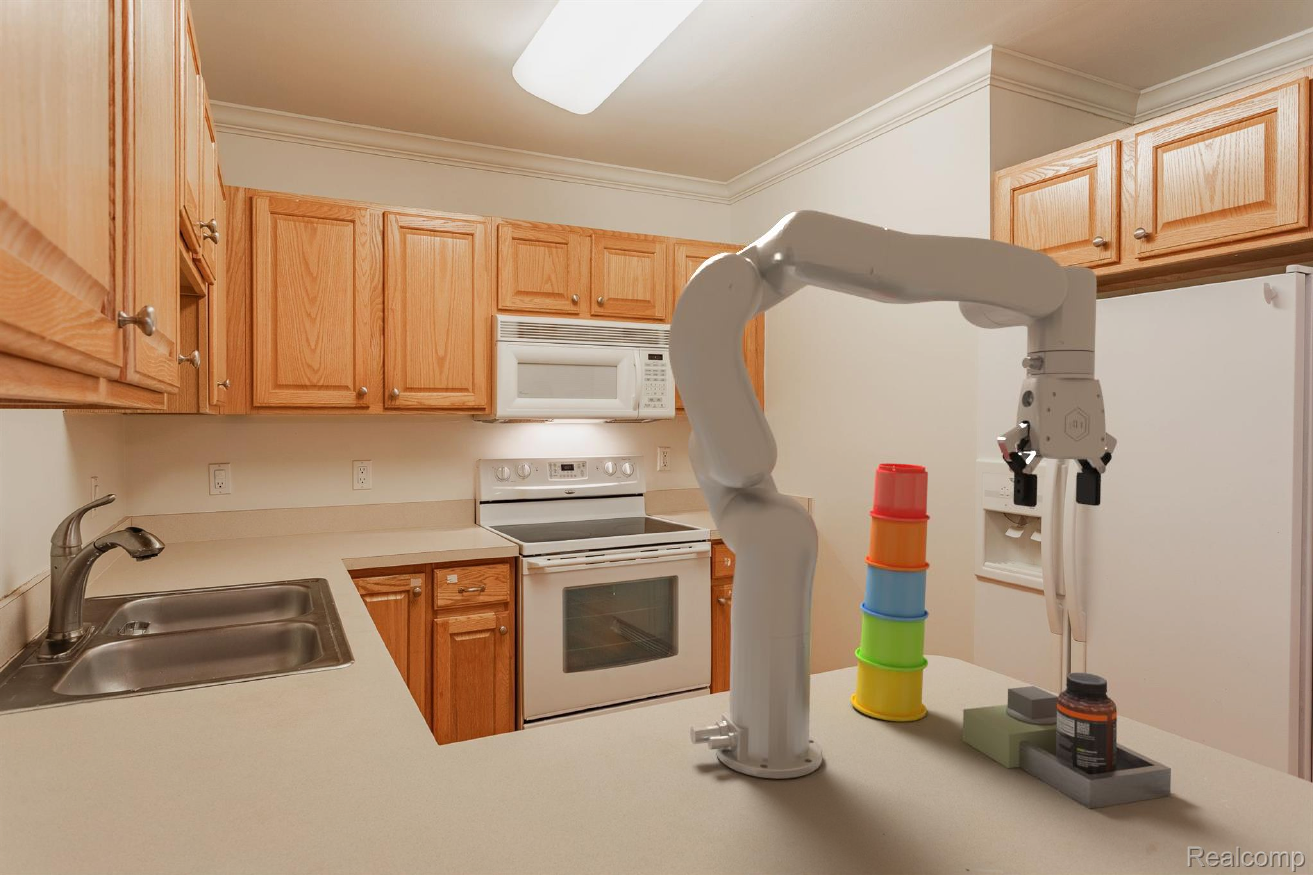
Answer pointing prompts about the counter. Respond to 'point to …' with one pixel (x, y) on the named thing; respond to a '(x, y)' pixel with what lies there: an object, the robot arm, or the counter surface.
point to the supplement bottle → (1087, 724)
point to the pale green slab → (1013, 725)
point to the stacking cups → (895, 598)
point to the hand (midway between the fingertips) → (1056, 505)
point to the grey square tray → (1099, 777)
